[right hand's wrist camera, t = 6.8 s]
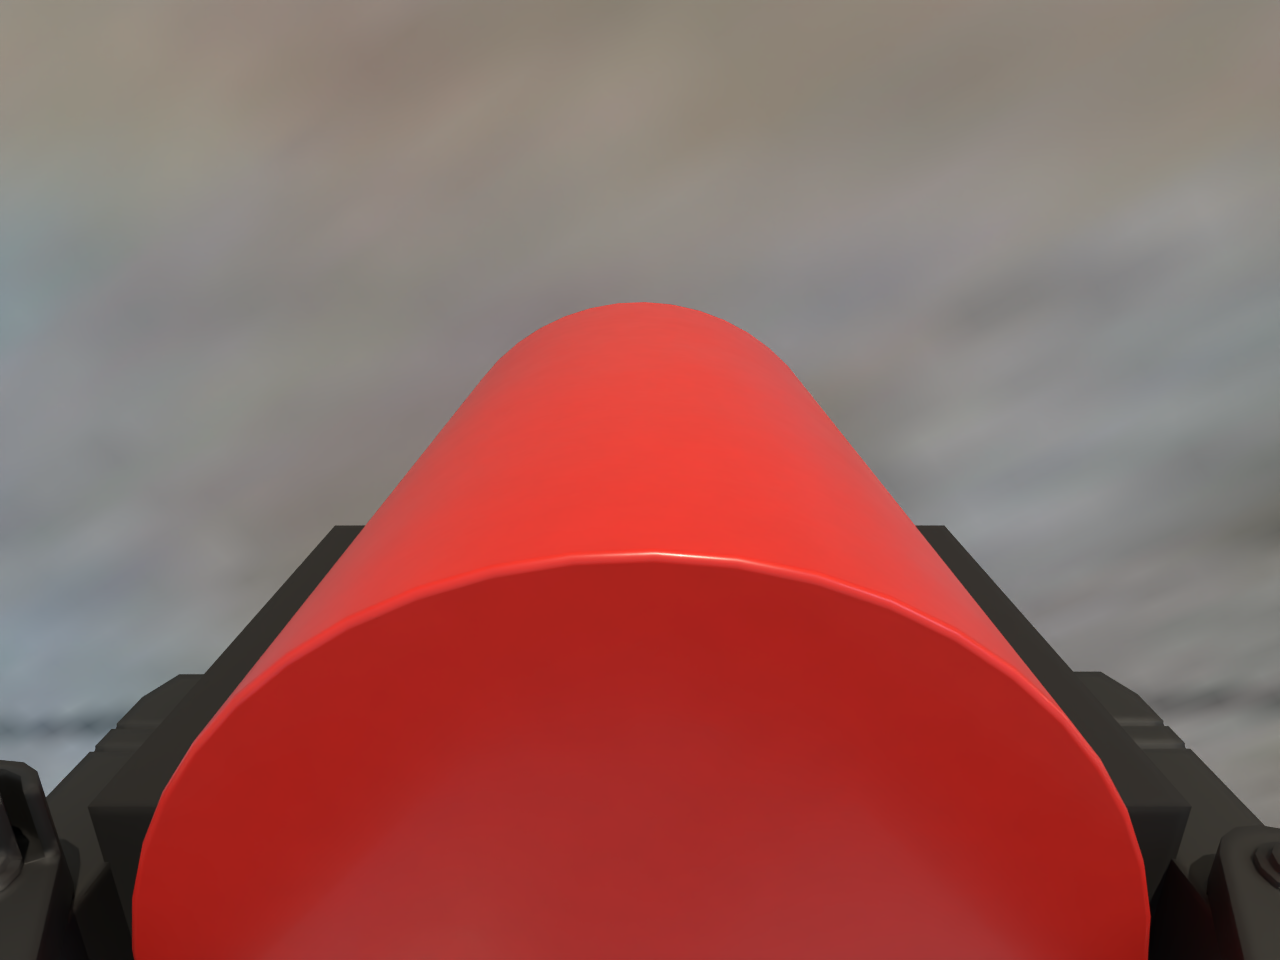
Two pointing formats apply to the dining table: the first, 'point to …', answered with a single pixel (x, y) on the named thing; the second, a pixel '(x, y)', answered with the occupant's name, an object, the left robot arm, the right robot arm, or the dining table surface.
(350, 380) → the dining table surface
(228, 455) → the dining table surface
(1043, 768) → the tin
